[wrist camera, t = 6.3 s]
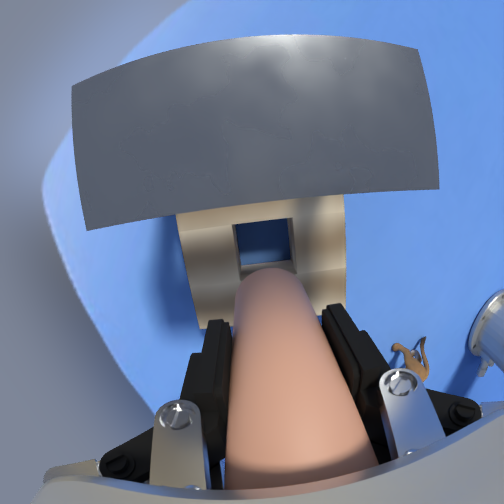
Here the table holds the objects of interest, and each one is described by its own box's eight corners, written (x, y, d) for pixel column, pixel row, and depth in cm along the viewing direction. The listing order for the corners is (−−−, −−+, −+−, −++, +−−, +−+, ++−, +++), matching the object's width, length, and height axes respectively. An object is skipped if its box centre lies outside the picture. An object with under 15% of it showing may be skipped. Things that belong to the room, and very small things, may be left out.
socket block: (334, 293, 29) (345, 311, 25) (205, 309, 29) (200, 329, 25) (326, 160, 24) (340, 158, 21) (181, 177, 25) (169, 178, 21)
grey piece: (333, 174, 25) (439, 189, 9) (178, 193, 25) (86, 230, 10) (325, 110, 23) (417, 49, 7) (170, 128, 23) (71, 86, 8)
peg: (306, 325, 14) (371, 521, 4) (240, 333, 14) (237, 542, 4) (304, 263, 13) (415, 477, 3) (230, 272, 13) (201, 514, 3)
